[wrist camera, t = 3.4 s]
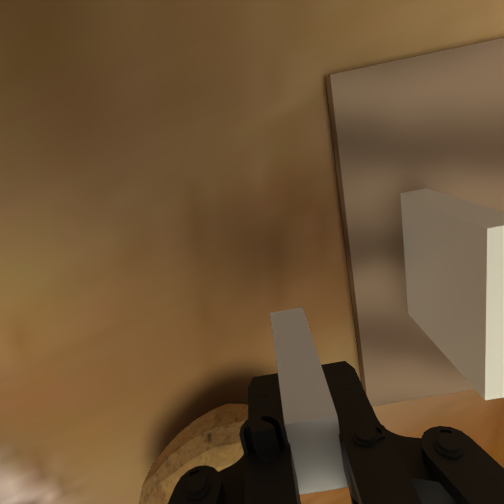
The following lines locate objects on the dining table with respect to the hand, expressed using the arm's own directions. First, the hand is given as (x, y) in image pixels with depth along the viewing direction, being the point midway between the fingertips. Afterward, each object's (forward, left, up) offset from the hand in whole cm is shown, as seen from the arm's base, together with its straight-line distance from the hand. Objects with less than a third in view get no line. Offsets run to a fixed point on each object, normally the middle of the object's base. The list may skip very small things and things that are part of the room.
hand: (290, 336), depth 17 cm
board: (0, +13, -8) cm, 15 cm away
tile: (0, +9, -6) cm, 11 cm away
